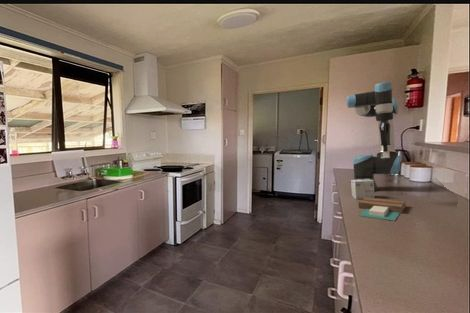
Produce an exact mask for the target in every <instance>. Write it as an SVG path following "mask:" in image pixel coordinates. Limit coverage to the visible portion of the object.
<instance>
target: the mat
mask: <svg viewBox="0 0 470 313" xmlns="http://www.w3.org/2000/svg"><path fill="white" fill-rule="evenodd" d="M369 210H370V209H364V210H363V211H362V212H360V214H359V215H358V216H359V217H363V218H371V219H378V220H384V221H391V222H395V221H396V220H397V218H398V217H399V216H400V214H401V213H398V212H390V211H388V213H387V214H386V215H385V216H384V217H382V216H375V215H369Z"/></svg>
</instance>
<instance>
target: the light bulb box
mask: <svg viewBox="0 0 470 313" xmlns="http://www.w3.org/2000/svg"><path fill="white" fill-rule="evenodd" d="M374 180H375V179H374ZM374 180H371V179H358V180H354V179H351V180H350V185H351V186H350V187H351V197H352V196H353V197H354V198H353V197H352V198H353V199H355V200H362V199H364V198H365V197H369V198H376V197H375V191H374Z"/></svg>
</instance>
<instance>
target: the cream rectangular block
mask: <svg viewBox="0 0 470 313" xmlns="http://www.w3.org/2000/svg"><path fill="white" fill-rule="evenodd" d="M388 211H389V209H388V207H382V206H373V207H372V208H371V209H370V210H369V215H375V216H382V217H384V216H385V215H386V214H387V213H388Z"/></svg>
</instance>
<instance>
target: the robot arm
mask: <svg viewBox="0 0 470 313" xmlns="http://www.w3.org/2000/svg"><path fill="white" fill-rule="evenodd" d="M346 106H347V108H349V109H351V108H352V109H353V108H354V111H355V113H356V114H357V115H358V116H361V117H364V118H375V121H376V122H377V123H378V124H377V125H378V126H377V127H378V149H379V150H378V152H377V153H376V155H375V156H374V155H373V154H372V153H371V154H363V155H358V156H355V157H354V158H353V162H352V163H353V177H354V178H353V180H358V179H371V180H374V192H375V191H378V184H377V181H376V180H375V175H398V174H399V173H400V170H401V169H400V168H401V160H402V159H401V158H402V155H399V153H398V152H397V151H396V146H395V131H394V130H395V129H394V119H395V117H396V115H398V114H399V110H398V109H399V108H398V102H397V100H396V98H394V97H393V86H392V82H390V81H384V82H379V83H376V84H375V85H374V90H371V91H367V92H361V93H353V94H350V95H347V97H346Z"/></svg>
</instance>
